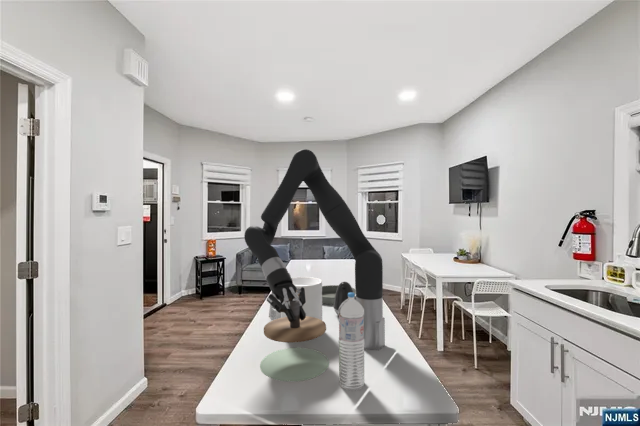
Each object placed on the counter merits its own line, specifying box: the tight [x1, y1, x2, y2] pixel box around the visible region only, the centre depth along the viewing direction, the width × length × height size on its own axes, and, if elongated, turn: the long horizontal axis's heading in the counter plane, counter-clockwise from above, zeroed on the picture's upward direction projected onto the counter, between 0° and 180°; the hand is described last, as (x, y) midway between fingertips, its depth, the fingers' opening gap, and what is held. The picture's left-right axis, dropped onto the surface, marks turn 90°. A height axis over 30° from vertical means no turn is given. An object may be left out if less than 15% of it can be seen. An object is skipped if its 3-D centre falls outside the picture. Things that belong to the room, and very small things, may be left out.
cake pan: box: [322, 284, 356, 305], centre depth 168 cm, size 25×25×4 cm
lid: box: [263, 301, 327, 343], centre depth 96 cm, size 19×19×8 cm
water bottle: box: [338, 292, 365, 392], centre depth 84 cm, size 7×7×25 cm
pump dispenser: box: [333, 281, 356, 317], centre depth 140 cm, size 10×10×15 cm
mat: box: [259, 347, 330, 383], centre depth 96 cm, size 21×21×1 cm
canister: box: [280, 276, 323, 321], centre depth 121 cm, size 16×16×20 cm
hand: (298, 320), depth 94 cm, fingers closed on lid, 3 cm apart
